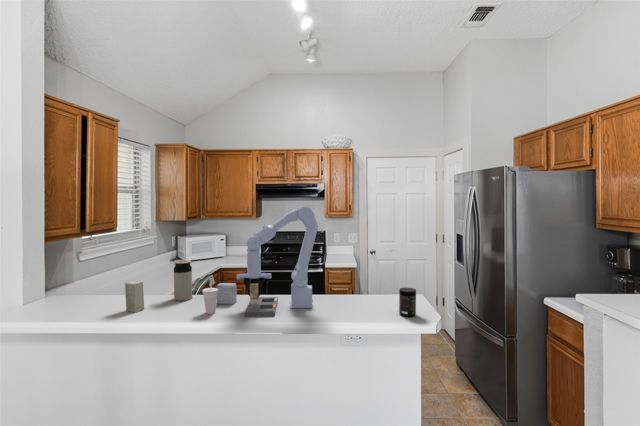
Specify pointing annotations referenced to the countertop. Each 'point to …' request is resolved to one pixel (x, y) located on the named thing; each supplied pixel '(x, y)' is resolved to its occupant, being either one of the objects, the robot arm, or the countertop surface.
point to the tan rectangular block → (254, 292)
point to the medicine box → (226, 293)
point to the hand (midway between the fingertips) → (254, 295)
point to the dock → (262, 307)
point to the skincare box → (134, 296)
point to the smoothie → (210, 298)
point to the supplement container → (407, 302)
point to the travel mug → (182, 280)
